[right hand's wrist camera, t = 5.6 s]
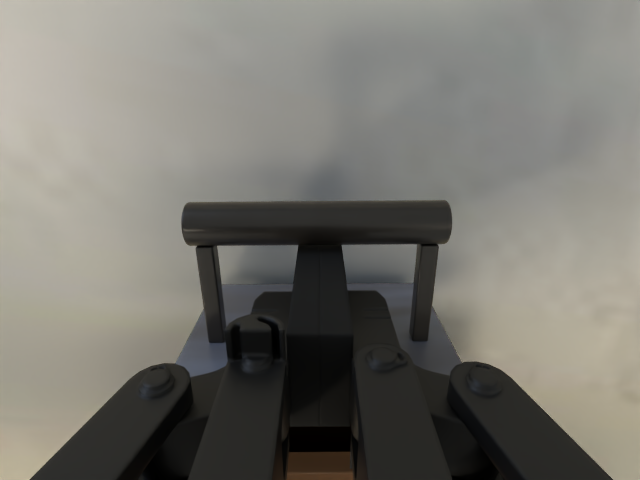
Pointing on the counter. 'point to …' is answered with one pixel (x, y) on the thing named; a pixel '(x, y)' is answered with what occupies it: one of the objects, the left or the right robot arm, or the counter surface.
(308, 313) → the right robot arm
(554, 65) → the counter surface
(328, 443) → the drawer
